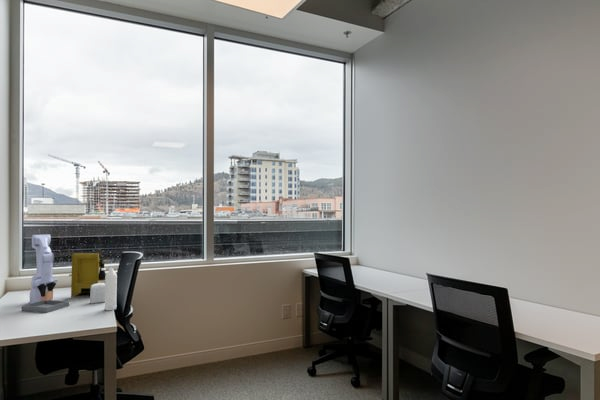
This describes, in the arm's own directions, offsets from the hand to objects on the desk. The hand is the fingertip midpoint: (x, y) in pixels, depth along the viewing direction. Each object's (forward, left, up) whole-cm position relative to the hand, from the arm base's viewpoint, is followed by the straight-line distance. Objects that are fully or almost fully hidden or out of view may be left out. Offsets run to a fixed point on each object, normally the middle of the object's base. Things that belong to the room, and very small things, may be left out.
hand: (46, 295), depth 227 cm
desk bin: (0, 0, -8) cm, 8 cm away
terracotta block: (0, 0, -2) cm, 3 cm away
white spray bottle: (+38, +8, -8) cm, 40 cm away
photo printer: (+19, +21, -8) cm, 30 cm away
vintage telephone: (-2, +38, -8) cm, 39 cm away
